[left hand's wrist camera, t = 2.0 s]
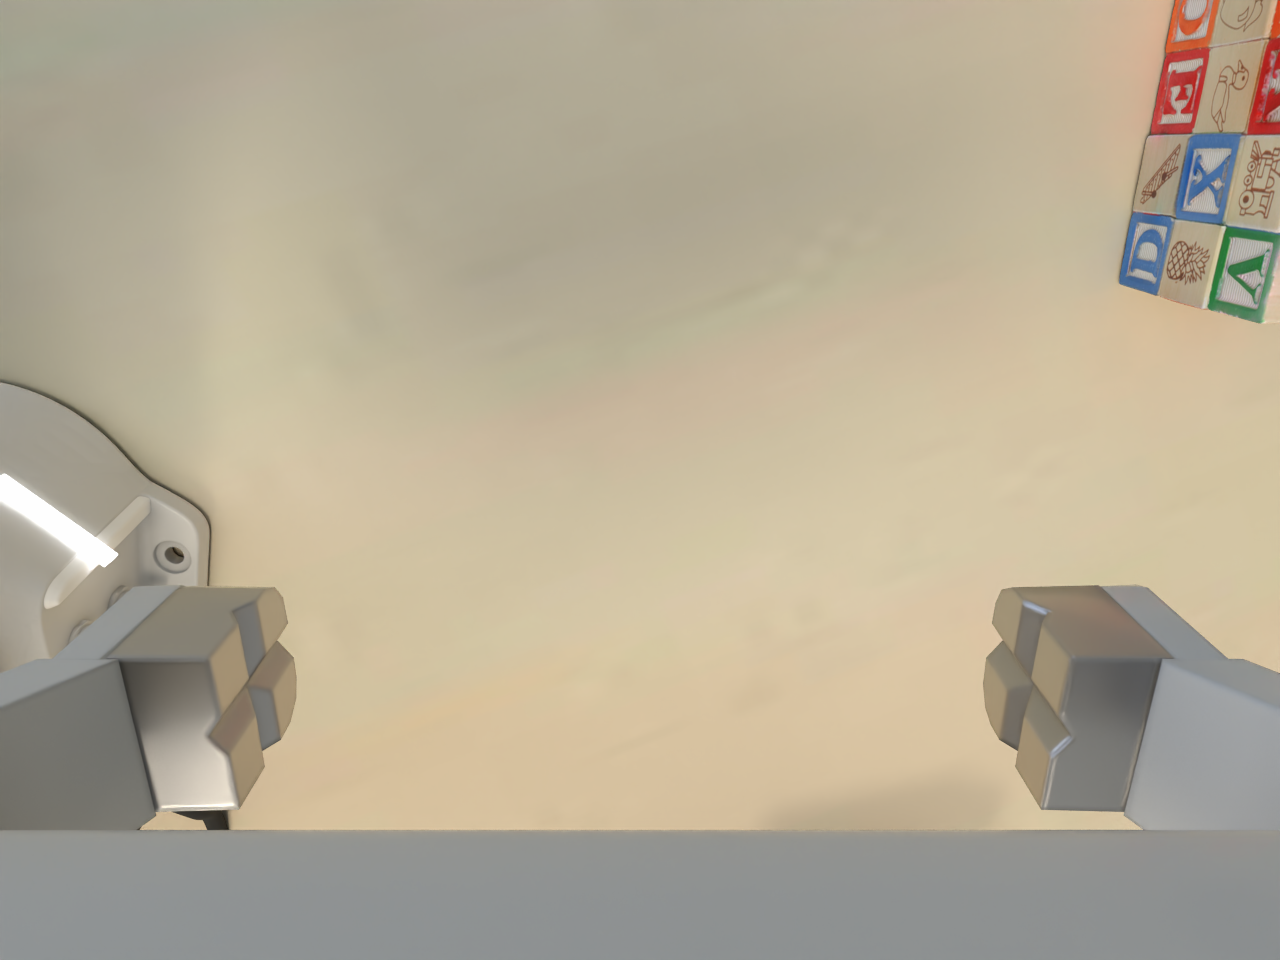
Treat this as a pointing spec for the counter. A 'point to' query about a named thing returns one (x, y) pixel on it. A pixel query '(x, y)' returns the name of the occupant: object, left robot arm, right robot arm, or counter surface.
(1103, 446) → the counter surface
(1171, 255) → the stack of blocks
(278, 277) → the counter surface
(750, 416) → the counter surface
